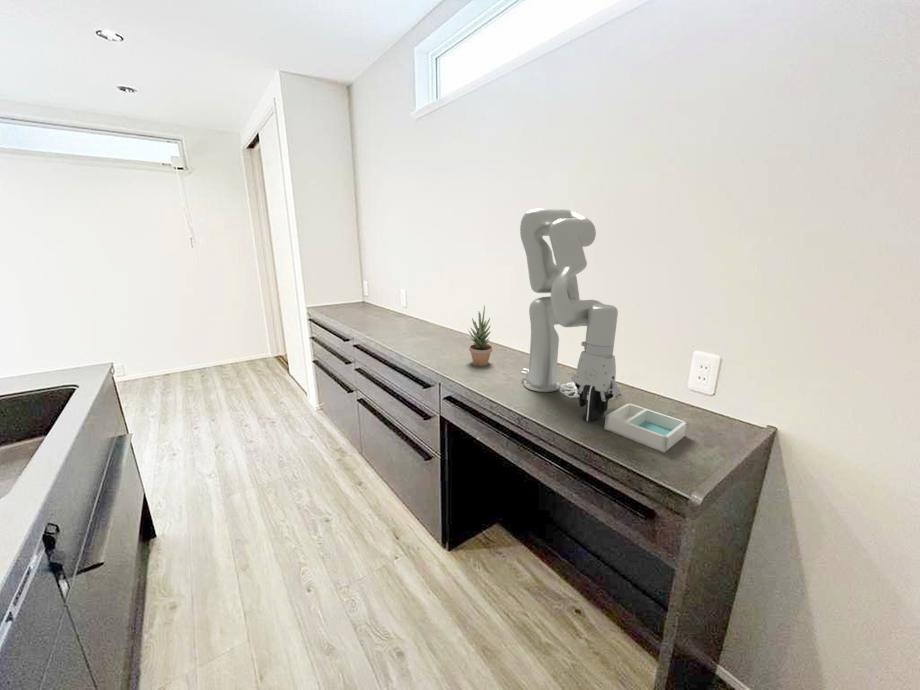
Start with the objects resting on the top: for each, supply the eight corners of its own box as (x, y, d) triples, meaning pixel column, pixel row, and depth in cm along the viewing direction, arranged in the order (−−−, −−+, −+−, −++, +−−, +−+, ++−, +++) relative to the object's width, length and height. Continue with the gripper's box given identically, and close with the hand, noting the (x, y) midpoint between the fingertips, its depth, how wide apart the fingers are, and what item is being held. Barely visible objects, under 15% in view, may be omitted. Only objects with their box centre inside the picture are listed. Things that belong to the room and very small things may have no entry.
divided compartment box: (604, 428, 106) (605, 415, 105) (626, 415, 115) (628, 402, 114) (664, 452, 95) (666, 438, 94) (684, 435, 103) (687, 422, 102)
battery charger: (593, 412, 116) (597, 376, 113) (604, 417, 113) (608, 380, 110) (578, 418, 113) (581, 381, 109) (589, 423, 110) (593, 385, 106)
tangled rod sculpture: (573, 407, 123) (574, 396, 122) (551, 387, 136) (552, 377, 135) (624, 399, 128) (626, 388, 127) (598, 380, 141) (600, 370, 140)
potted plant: (480, 368, 154) (482, 307, 147) (464, 363, 161) (465, 304, 154) (497, 363, 161) (499, 304, 154) (481, 358, 167) (482, 301, 161)
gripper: (564, 345, 111) (559, 403, 116) (621, 359, 99) (613, 423, 104) (579, 340, 116) (574, 396, 121) (635, 353, 103) (627, 415, 108)
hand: (592, 408), depth 112 cm, fingers open, 5 cm apart
